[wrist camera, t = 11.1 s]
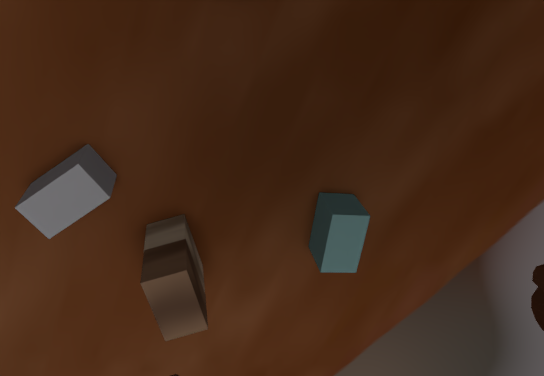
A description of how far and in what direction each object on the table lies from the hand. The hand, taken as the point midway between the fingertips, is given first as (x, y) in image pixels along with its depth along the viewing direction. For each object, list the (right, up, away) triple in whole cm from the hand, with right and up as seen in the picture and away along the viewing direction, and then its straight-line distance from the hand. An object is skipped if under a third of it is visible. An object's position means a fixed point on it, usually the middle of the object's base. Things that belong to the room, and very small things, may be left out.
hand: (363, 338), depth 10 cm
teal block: (+4, 0, +36) cm, 36 cm away
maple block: (-11, -2, +34) cm, 36 cm away
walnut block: (-10, -4, +30) cm, 32 cm away
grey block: (-19, +4, +30) cm, 35 cm away
